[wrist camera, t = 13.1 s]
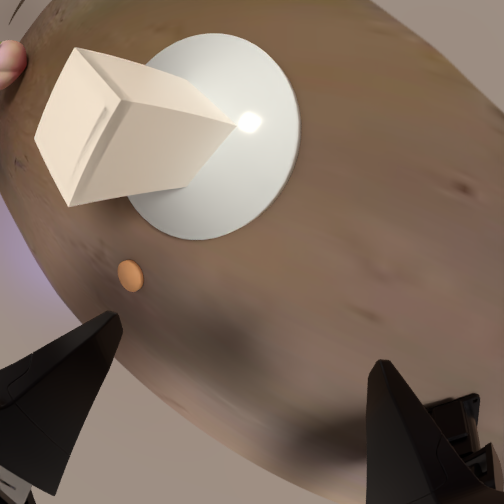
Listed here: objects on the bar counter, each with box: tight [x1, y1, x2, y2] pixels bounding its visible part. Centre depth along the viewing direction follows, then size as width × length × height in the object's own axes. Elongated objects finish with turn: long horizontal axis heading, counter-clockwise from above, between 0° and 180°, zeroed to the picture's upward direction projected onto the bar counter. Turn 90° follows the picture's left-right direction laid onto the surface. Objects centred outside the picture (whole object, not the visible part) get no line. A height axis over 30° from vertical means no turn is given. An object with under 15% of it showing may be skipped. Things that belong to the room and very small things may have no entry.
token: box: [118, 260, 144, 292], centre depth 27 cm, size 3×3×1 cm
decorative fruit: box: [0, 40, 27, 90], centre depth 24 cm, size 9×8×10 cm
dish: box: [127, 34, 301, 240], centre depth 20 cm, size 16×16×2 cm
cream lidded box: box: [34, 47, 237, 207], centre depth 15 cm, size 6×6×10 cm
